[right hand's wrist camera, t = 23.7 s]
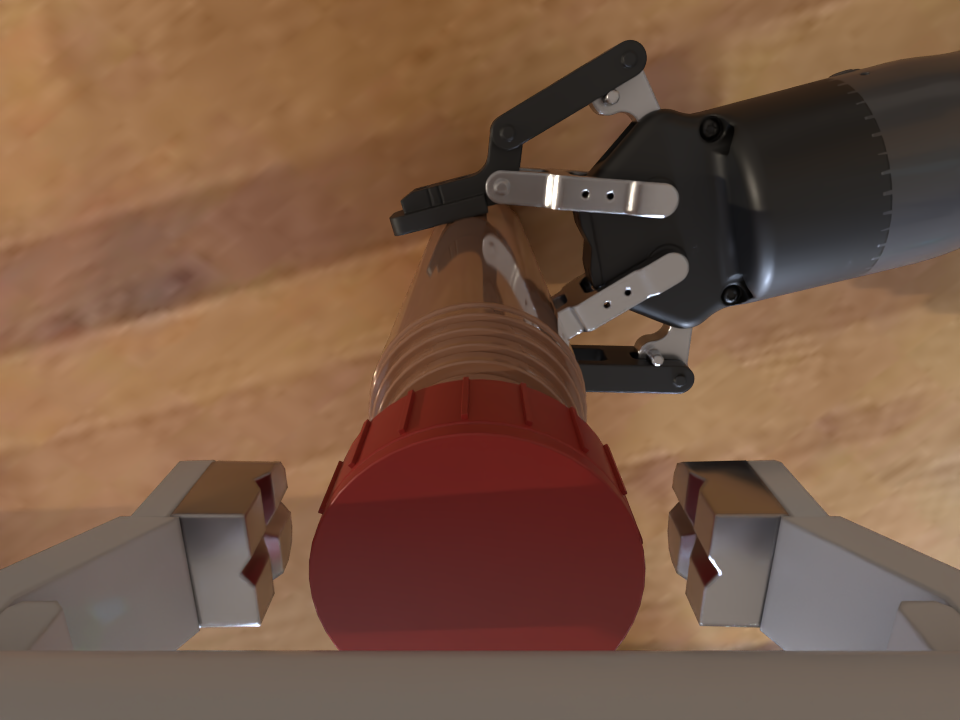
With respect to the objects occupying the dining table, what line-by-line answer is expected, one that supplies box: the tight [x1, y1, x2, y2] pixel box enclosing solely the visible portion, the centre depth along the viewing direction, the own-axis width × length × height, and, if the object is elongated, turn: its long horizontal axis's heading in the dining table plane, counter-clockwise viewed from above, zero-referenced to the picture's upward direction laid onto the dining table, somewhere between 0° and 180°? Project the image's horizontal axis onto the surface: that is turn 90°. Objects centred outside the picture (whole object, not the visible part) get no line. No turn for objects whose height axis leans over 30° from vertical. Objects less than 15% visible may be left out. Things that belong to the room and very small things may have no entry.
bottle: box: [369, 204, 587, 422], centre depth 20 cm, size 5×4×24 cm
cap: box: [309, 377, 645, 651], centre depth 9 cm, size 4×4×2 cm
